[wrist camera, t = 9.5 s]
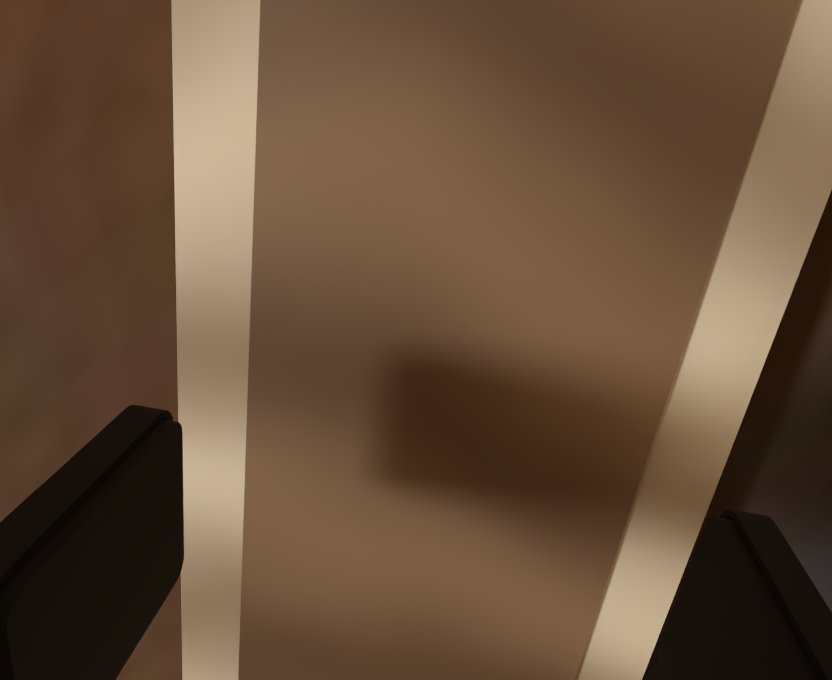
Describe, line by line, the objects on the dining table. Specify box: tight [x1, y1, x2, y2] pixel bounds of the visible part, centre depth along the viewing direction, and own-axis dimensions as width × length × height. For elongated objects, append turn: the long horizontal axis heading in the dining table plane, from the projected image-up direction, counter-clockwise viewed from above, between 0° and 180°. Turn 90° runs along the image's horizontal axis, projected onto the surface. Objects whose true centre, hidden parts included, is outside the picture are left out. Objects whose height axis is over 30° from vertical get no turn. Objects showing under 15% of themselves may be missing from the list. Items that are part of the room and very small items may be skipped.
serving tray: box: [172, 0, 832, 680], centre depth 12 cm, size 24×11×4 cm, turn 172°
